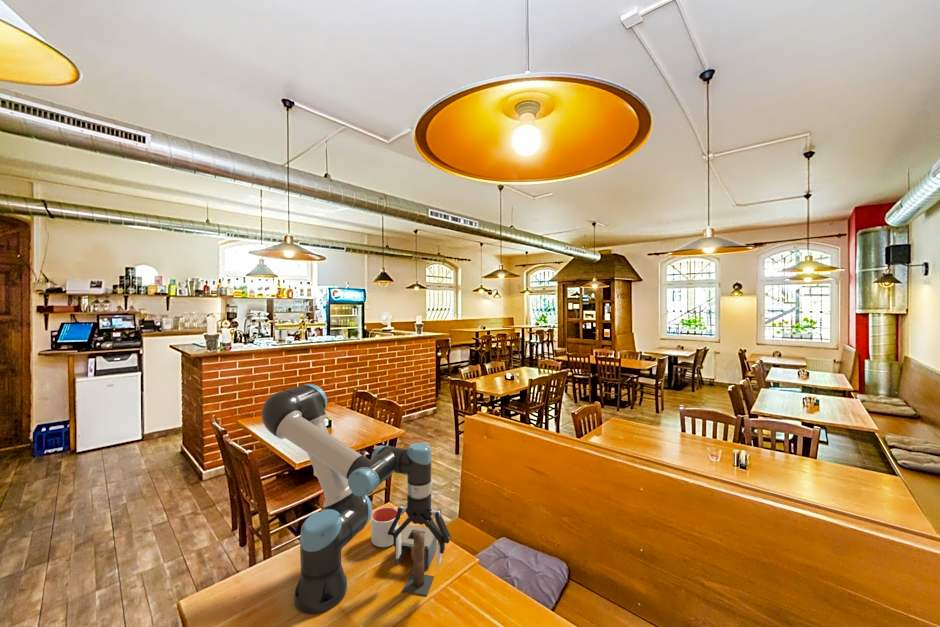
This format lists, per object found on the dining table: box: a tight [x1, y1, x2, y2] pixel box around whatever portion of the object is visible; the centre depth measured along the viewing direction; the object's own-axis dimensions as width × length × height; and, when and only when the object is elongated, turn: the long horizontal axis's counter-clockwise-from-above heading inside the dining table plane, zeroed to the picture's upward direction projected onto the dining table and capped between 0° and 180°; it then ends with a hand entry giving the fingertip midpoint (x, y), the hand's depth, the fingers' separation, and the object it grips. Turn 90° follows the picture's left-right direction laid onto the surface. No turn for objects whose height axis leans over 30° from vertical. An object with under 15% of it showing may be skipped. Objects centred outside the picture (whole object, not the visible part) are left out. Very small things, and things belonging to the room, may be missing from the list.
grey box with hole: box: [394, 524, 438, 570], centre depth 133 cm, size 12×10×8 cm
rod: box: [412, 531, 425, 587], centre depth 120 cm, size 3×3×16 cm
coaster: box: [401, 572, 435, 597], centre depth 121 cm, size 8×8×1 cm
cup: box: [370, 506, 399, 548], centre depth 142 cm, size 10×10×10 cm
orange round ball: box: [410, 547, 414, 562], centre depth 133 cm, size 4×4×4 cm
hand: (418, 559), depth 120 cm, fingers open, 13 cm apart
